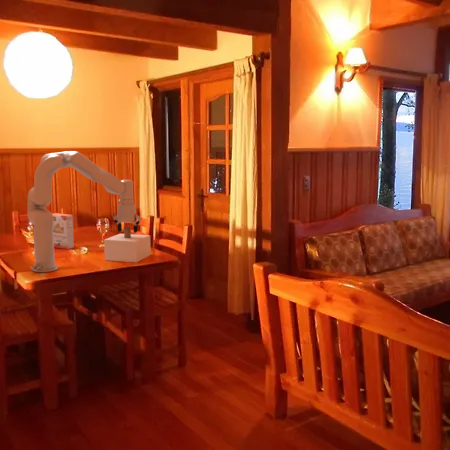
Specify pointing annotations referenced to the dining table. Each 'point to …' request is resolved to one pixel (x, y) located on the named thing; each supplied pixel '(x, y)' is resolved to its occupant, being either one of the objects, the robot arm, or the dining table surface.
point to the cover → (127, 247)
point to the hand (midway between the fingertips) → (127, 231)
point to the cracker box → (63, 231)
